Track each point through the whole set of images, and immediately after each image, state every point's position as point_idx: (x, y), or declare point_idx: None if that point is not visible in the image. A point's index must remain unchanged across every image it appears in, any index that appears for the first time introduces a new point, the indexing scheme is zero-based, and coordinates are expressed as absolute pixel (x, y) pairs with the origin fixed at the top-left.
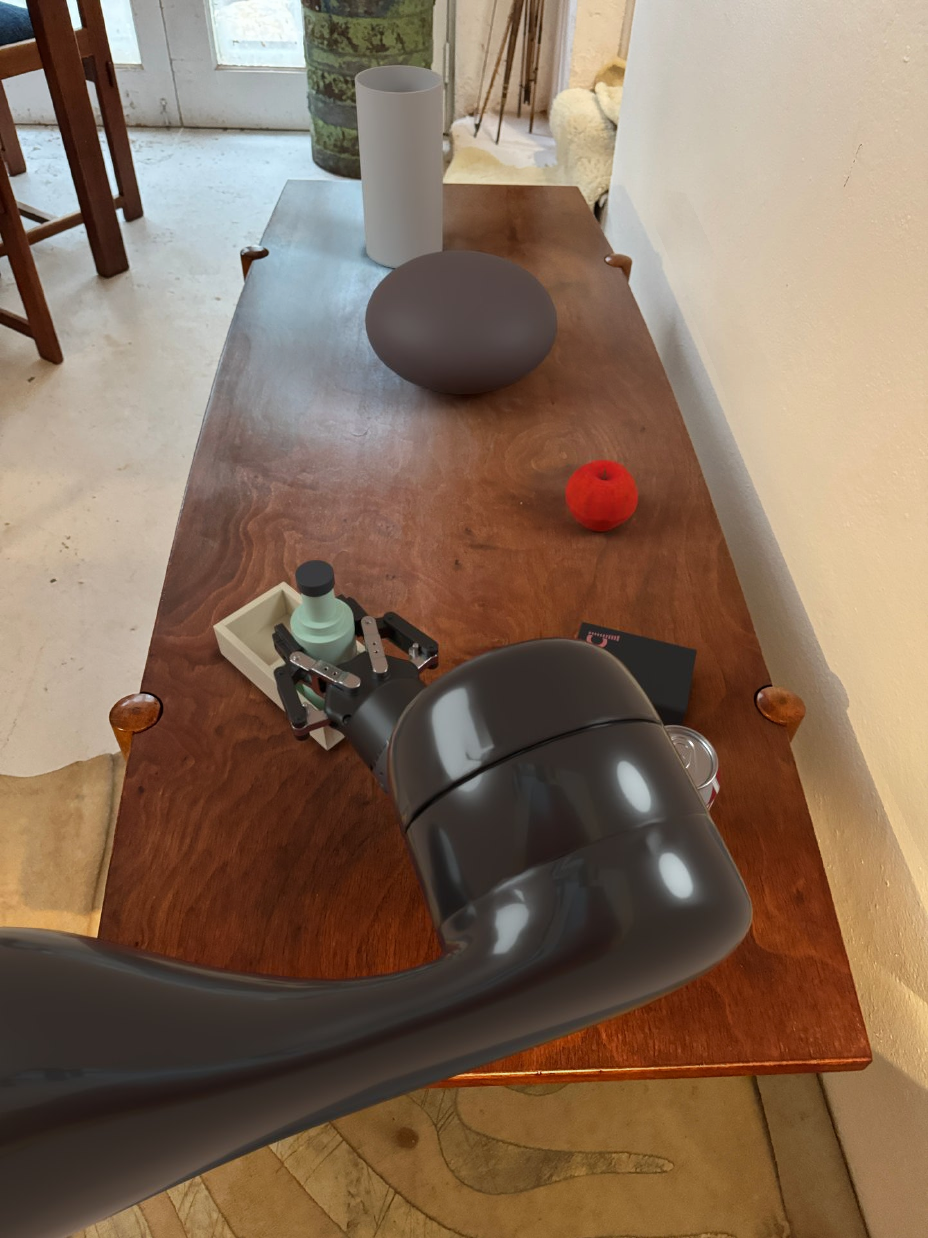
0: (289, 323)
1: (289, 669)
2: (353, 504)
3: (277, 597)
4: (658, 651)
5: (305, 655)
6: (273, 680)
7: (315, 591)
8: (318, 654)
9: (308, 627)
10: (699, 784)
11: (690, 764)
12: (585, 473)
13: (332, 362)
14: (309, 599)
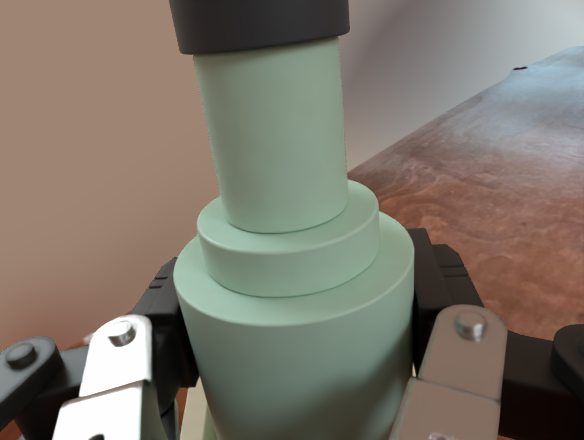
0: (527, 92)
1: (75, 366)
2: (545, 210)
3: None
4: None
5: (147, 341)
6: (187, 398)
7: (198, 8)
8: (208, 365)
9: (198, 234)
10: None
11: None
12: None
13: (564, 111)
14: (201, 85)
